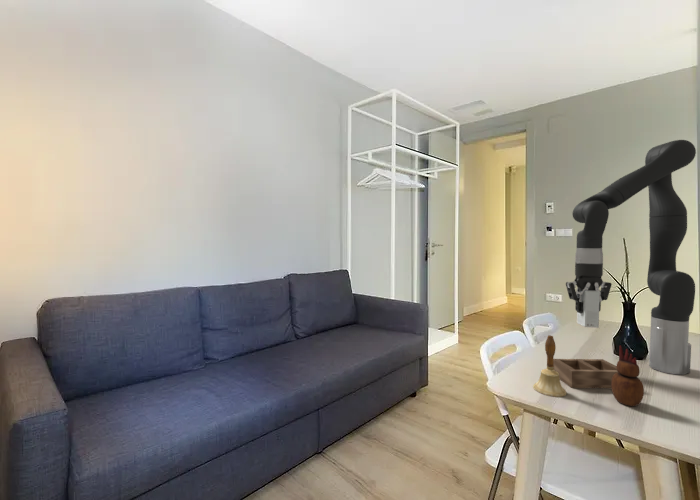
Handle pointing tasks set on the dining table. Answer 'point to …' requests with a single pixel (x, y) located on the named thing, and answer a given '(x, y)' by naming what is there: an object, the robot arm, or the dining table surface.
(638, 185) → the robot arm
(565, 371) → the walnut rail
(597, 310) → the skincare box
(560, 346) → the dining table surface
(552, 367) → the hand bell
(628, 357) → the wooden figurine
